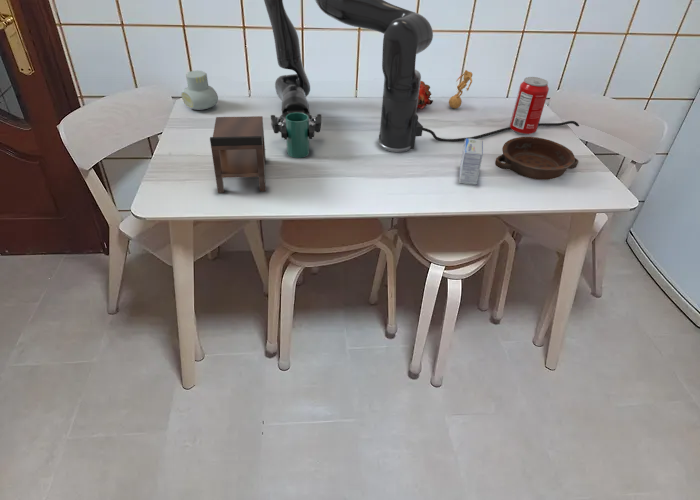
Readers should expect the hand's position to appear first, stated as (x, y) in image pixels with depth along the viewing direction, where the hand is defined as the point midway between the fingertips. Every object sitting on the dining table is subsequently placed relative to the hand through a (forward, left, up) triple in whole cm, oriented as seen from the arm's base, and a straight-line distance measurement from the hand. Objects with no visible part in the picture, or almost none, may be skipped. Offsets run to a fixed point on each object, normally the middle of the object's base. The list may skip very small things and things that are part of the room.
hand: (298, 136), depth 127 cm
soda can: (-67, -12, -6) cm, 68 cm away
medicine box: (-42, +13, -6) cm, 44 cm away
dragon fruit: (-39, -30, -6) cm, 50 cm away
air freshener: (+28, -33, -6) cm, 44 cm away
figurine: (-52, -29, -6) cm, 60 cm away
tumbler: (0, -2, -6) cm, 6 cm away
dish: (-61, +10, -6) cm, 62 cm away
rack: (+14, +9, -6) cm, 18 cm away
